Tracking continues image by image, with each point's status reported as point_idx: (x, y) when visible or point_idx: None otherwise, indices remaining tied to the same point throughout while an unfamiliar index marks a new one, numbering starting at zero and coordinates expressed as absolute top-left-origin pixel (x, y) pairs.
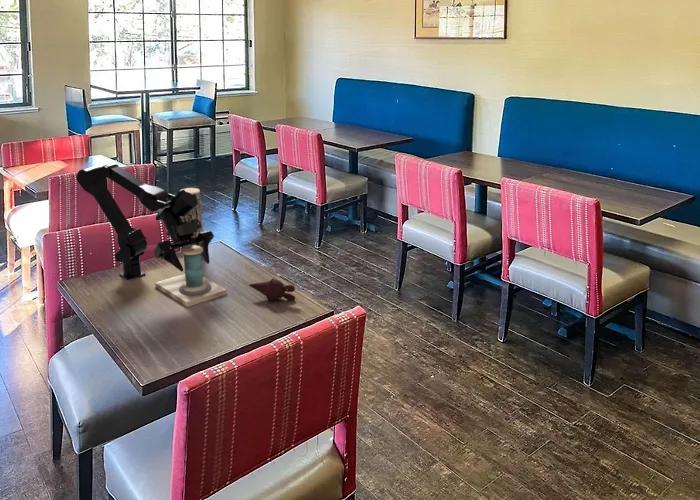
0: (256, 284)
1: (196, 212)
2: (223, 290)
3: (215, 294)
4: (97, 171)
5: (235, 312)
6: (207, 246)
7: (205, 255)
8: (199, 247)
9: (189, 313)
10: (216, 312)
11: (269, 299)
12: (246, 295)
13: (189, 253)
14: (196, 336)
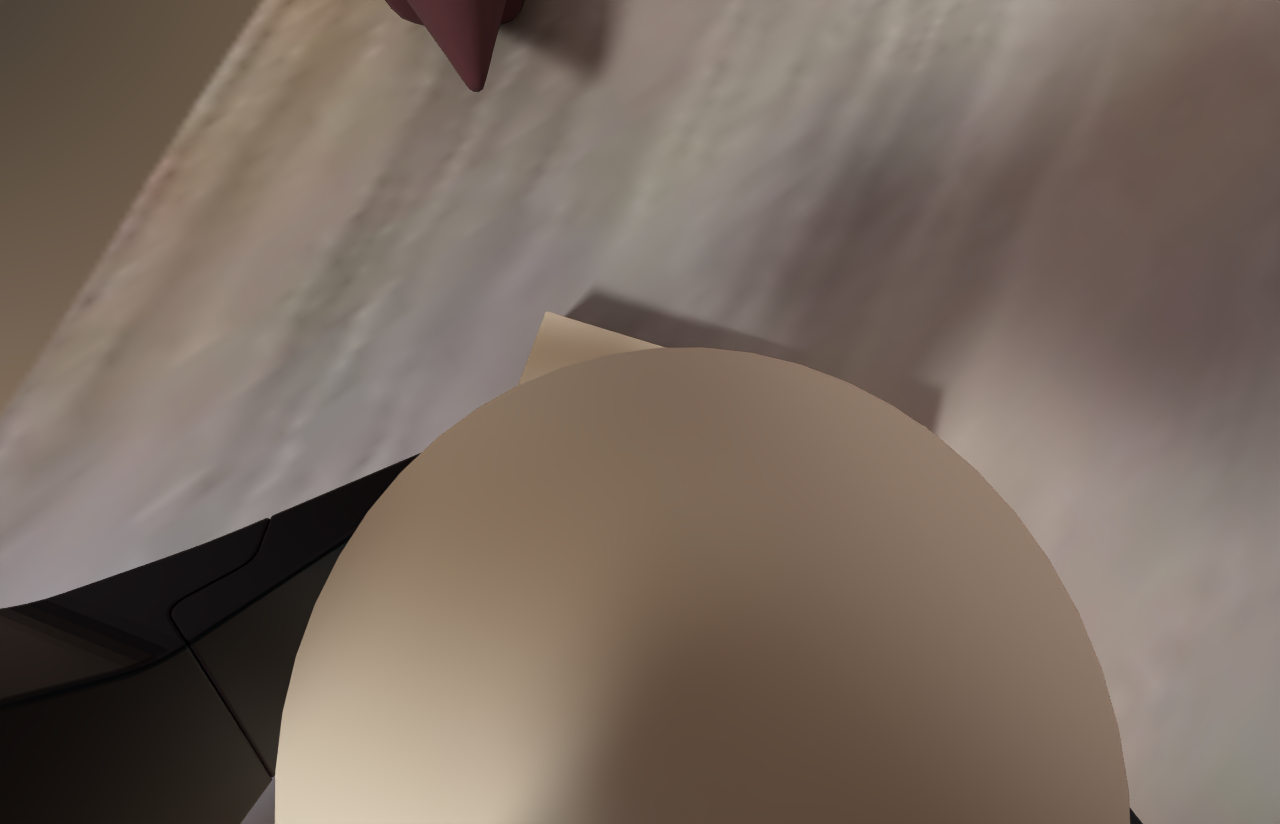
0: (473, 2)
1: None
2: (574, 320)
3: (652, 346)
4: None
5: (775, 87)
6: (86, 602)
7: None
8: (391, 625)
9: (980, 342)
10: (849, 190)
11: (508, 6)
12: (510, 187)
13: (1036, 545)
14: (1197, 77)
